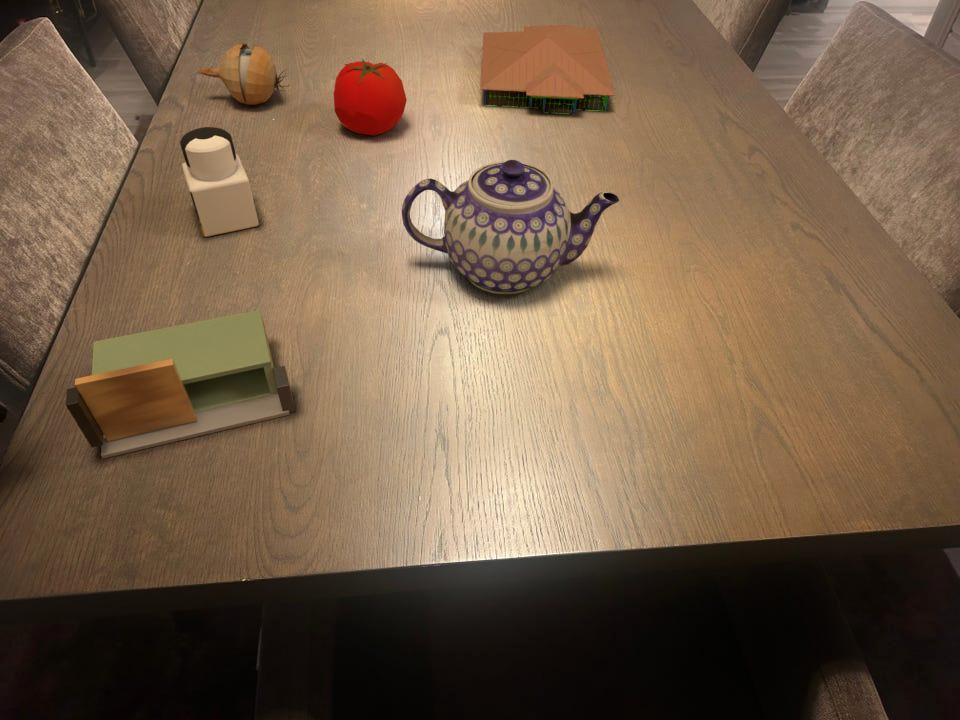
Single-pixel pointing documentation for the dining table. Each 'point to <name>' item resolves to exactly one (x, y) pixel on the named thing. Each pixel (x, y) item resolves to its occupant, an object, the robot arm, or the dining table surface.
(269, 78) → the split yellow onion
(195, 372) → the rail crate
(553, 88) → the house
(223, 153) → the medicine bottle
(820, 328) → the dining table surface
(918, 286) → the dining table surface
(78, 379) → the sliding door
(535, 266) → the teapot
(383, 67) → the tomato
